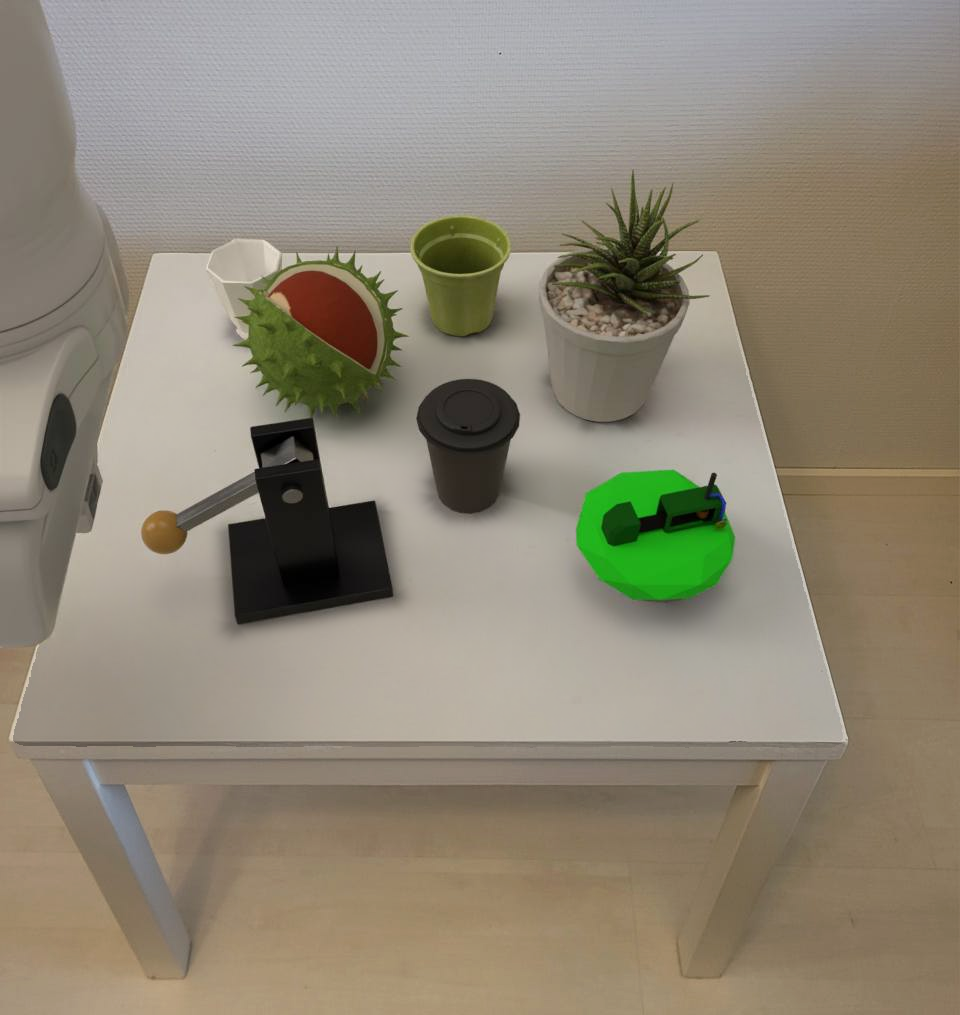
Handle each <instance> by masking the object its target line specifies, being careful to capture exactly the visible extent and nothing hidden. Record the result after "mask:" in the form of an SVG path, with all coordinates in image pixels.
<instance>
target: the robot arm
mask: <svg viewBox="0 0 960 1015" xmlns="http://www.w3.org/2000/svg"><path fill="white" fill-rule="evenodd" d="M55 46H56V45H55V43H54V39H53V37H52V34H51V31H50V28H49V25H48V22H47V19H46V16H45V12H44V8H43V7H42V4H41V0H0V649H22V648H23V649H24V648H31V647H36V646H38V645H40V644H42V643H43V642H45V641H47V640H48V639H49V638H50V637H51V636H52V634H53V632H54V630H55V627H56V622H57V617H58V612H59V608H60V604H61V599H62V594H63V591H64V587H65V582H66V577H67V575H68V574H67V573H68V569H69V566H70V562H71V558H72V552H73V550H74V549H73V548H74V544H75V540H76V535H77V534H89V533H91V532H92V530H93V526H94V522H95V518H96V513H97V508H98V503H99V499H100V495H101V492H102V488H103V482H104V480H103V476H102V474H101V471H100V468H99V465H98V462H99V458H98V457H99V454H98V452H99V451H98V442H99V437H100V433H101V430H102V425H103V421H104V417H105V411H106V408H107V405H108V404H107V403H108V399H109V396H110V390H111V387H112V382H113V377H114V375H115V369H116V366H117V364H118V362H119V360H120V359H121V357H122V355H123V352H124V349H125V346H126V343H127V338H128V329H129V328H128V327H129V326H128V315H129V311H130V285H129V277H128V274H127V271H126V267H125V264H124V260H123V257H122V254H121V250H120V248H119V245H118V243H117V239H116V236H115V233H114V231H113V227H112V225H111V223H110V220H109V218H108V216H107V214H106V211H105V210H104V208H103V207H102V205H100V204H99V203H98V202H96V201H94V199H93V198H92V197H91V196H92V195H91V194H90V193H89V191H88V190H87V188H86V187H85V185H84V184H83V182H82V181H81V180H80V178H79V175H78V172H77V168H76V153H77V143H78V140H77V125H76V121H75V120H76V119H75V116H74V111H73V107H72V106H73V105H72V104H71V99H70V95H69V91H68V88H67V84H66V81H65V78H64V74H63V70H62V67H61V62H60V60H59V56H58V53H57V50H56V47H55Z"/></svg>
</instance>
